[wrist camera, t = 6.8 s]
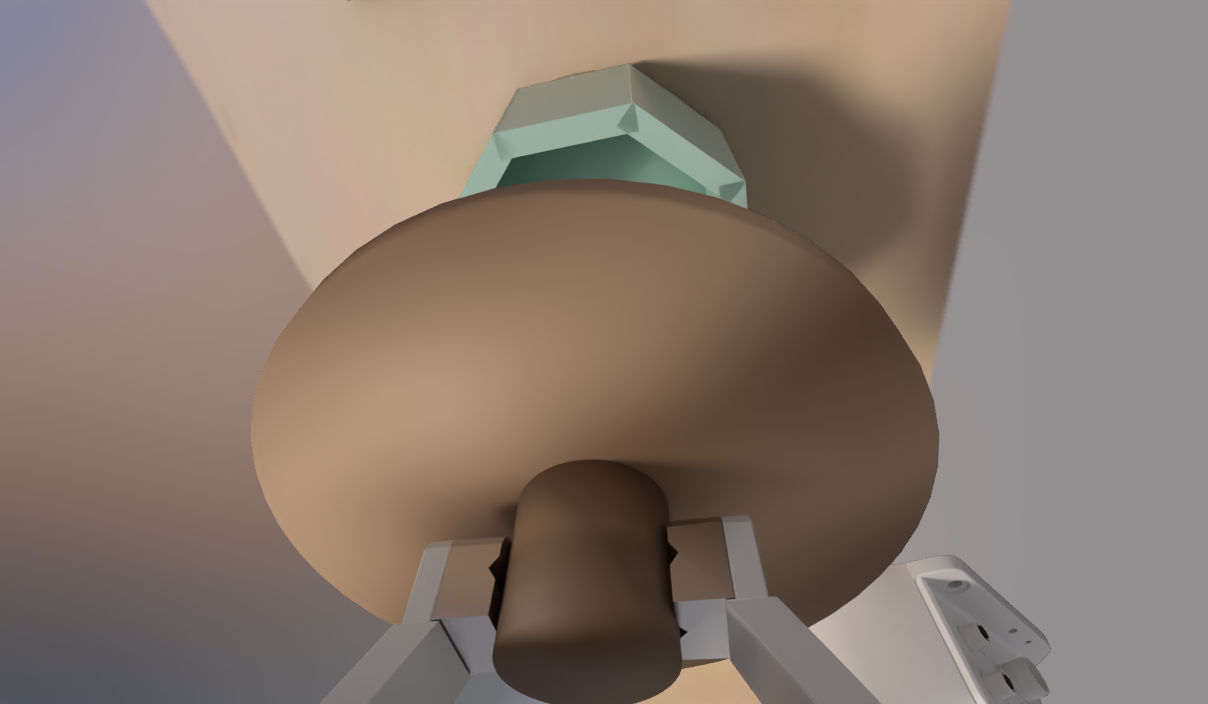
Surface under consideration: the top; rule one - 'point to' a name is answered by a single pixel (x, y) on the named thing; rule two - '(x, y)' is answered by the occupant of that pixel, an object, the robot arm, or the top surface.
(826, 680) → the robot arm
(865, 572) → the walnut lid
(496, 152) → the ceramic bowl
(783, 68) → the top surface
